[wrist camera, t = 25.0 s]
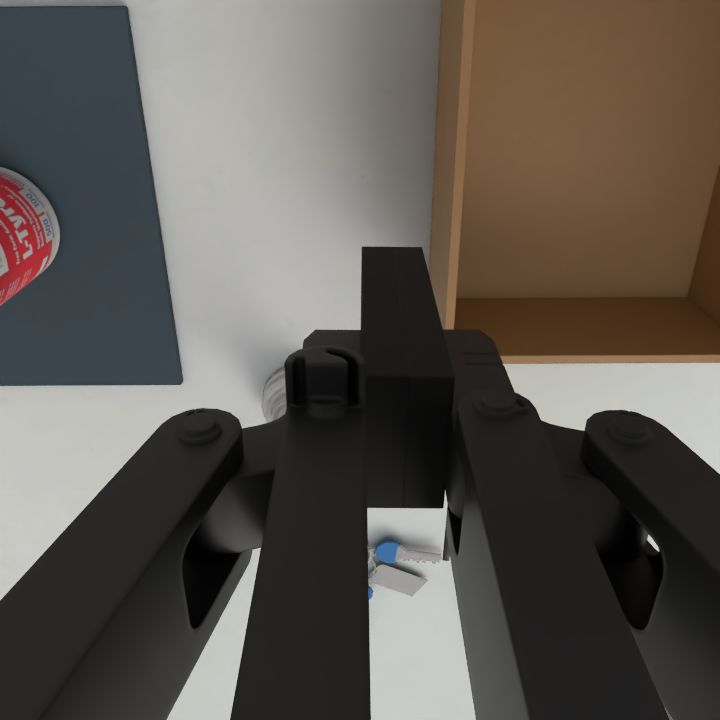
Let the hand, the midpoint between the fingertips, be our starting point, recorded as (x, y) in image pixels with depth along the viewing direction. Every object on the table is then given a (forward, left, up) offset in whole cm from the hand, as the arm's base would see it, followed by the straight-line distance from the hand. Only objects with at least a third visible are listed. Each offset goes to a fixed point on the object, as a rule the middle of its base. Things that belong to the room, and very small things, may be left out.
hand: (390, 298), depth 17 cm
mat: (+3, -20, -19) cm, 28 cm away
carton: (-1, +10, -19) cm, 22 cm away
